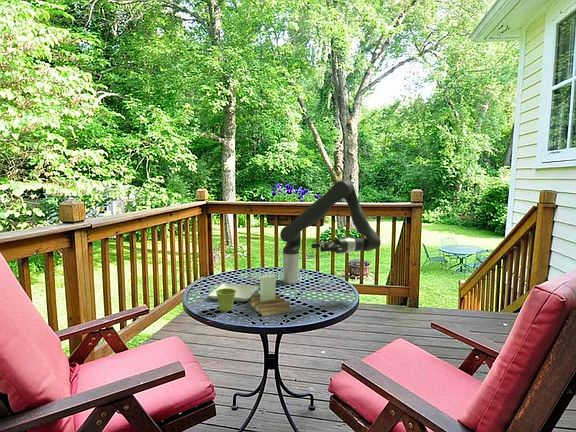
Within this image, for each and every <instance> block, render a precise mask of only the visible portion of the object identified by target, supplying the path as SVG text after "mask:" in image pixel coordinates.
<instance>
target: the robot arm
mask: <svg viewBox="0 0 576 432" xmlns="http://www.w3.org/2000/svg"><path fill="white" fill-rule="evenodd" d="M354 186H355V185H354V184H353V182H352V181H350V180H349V179H342V180H338V181H336V182H335V183H334V184H333V185H332V186H331V187H330V188H329V189H328V190H327V191H326V192H325V193H324V195H322V196H321V197H319V198H318V199H316V200H315V201H314V202H313V203H312V204H311V205H309V206H308V207H307V208H306V209H305V210H303V211H302V213H300V215H298V216H297V217H296V218H295V219H294V220H293V221H291V222H290V223H288V224H287V225H285V226H283V228H282V229H281V230H280V235H279V236H280V239H281V240H282V242H285V246H284V247H283V249H282V283H284V284H288V285H289V284H290V285H292V284H293V285H294V284H298V283H299V274H300V273H299V270H300V269H299V268H300V267H299V265H300V264H299V263H300V260H299V259H300V255H299V254H300V249H301V243H302V242H301V240H302V239H301V238H302V234H301V233H302V231H303V230H305V229H307V228H309V227H311V226H312V225H314V224H316V223H317V222H319V221H320V220H321V219H323V218H324V216H325V215H326V214H327V213H328V212H329V210H330V209H331V208H332V207H333V206H334V205H335V204H337V203H338V202H339V201H341V200H343V199H344V200H345V202H346V204H347V206H348V208H349V211H350V218H351V220H352V224H353V225H354V227H355V230H356V231H357V233H358V234H359V235H364V238H363V237H362V238H361V237H359V236H358V237H337V238H334V239H333V242H332V241H326V240H325V241H317V242H316V243H311V244H310V246H311V249H319V251H320V252H321V253H323V252H329V253H335V254H347V253H352V252H370V251H373V250H376V249H378V248H380V246H381V238H380V237H379V235H378V234H377V232H376V231H375V230H374V229H373V228H372V227H371V224H370V223H369V221H368V219H367V217H366V215H365V213H364V210H363V208H362V206H361V203H360V202H359V198H358V195H357V192H356V189H355V187H354Z"/></svg>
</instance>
